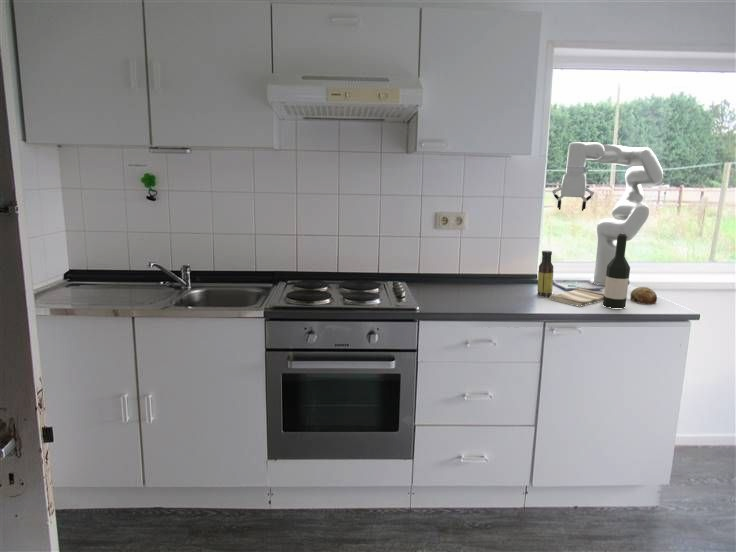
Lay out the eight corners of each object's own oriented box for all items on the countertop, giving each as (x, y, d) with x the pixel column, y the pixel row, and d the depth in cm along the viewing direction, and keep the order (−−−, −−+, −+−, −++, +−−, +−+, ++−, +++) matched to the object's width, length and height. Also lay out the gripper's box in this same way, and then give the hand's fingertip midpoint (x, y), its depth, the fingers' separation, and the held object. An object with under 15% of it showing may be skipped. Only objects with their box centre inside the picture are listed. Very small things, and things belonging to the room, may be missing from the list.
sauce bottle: (553, 295, 223) (557, 250, 219) (549, 298, 218) (553, 252, 214) (539, 293, 227) (542, 249, 223) (534, 296, 222) (538, 251, 218)
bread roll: (626, 307, 219) (622, 291, 216) (643, 295, 222) (639, 279, 219) (647, 313, 211) (643, 297, 208) (663, 300, 213) (660, 284, 210)
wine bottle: (630, 308, 204) (639, 234, 197) (612, 310, 202) (621, 235, 195) (614, 303, 212) (623, 231, 205) (598, 304, 210) (606, 232, 203)
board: (579, 292, 229) (580, 287, 229) (609, 298, 218) (609, 294, 218) (549, 299, 217) (550, 294, 217) (579, 306, 206) (579, 302, 206)
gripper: (596, 171, 224) (591, 210, 227) (554, 170, 230) (550, 208, 234) (596, 171, 217) (592, 211, 221) (554, 170, 223) (550, 209, 227)
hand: (570, 210), depth 227 cm, fingers open, 9 cm apart
